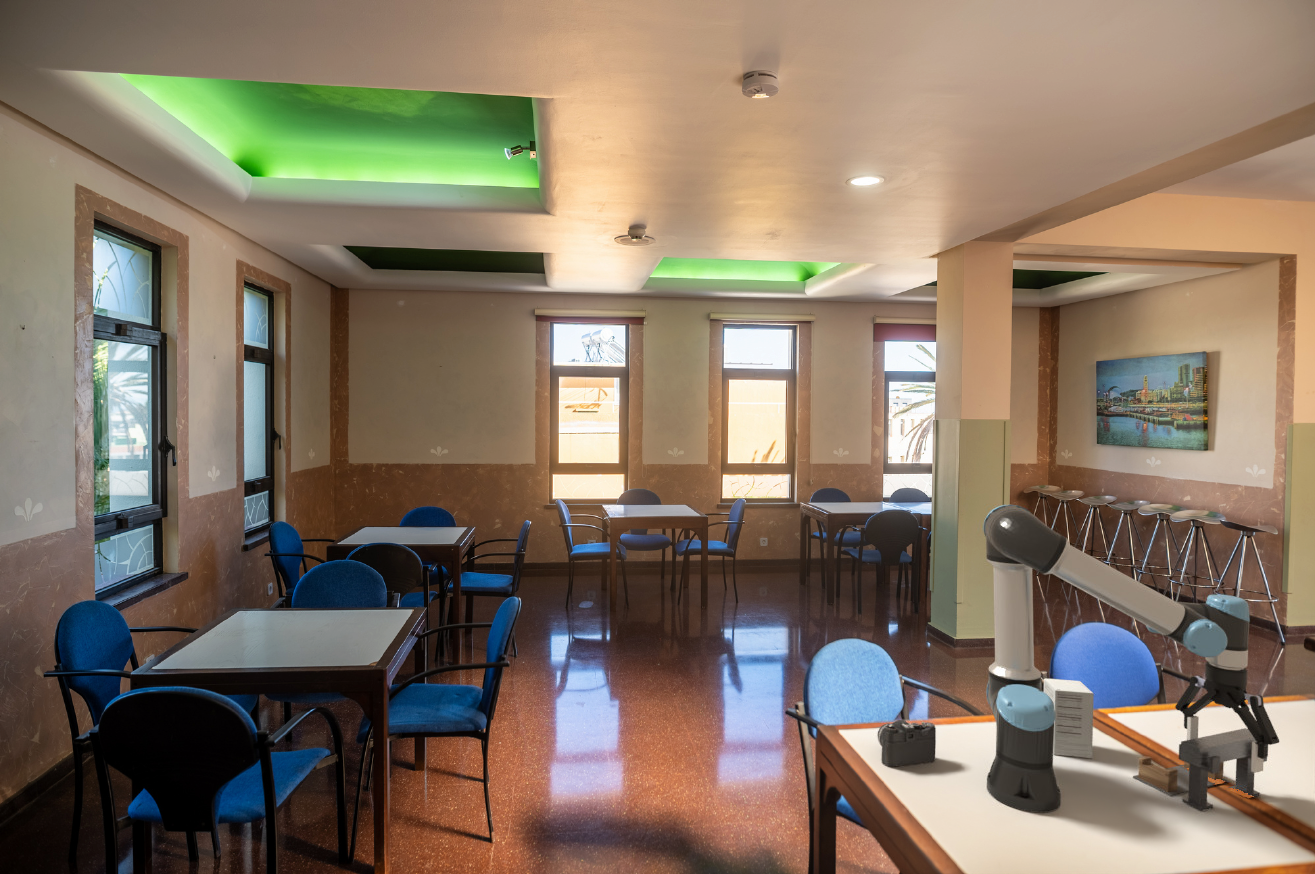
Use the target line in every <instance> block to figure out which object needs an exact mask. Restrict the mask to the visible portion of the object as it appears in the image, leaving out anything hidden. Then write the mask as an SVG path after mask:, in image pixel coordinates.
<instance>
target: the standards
mask: <svg viewBox="0 0 1315 874" xmlns="http://www.w3.org/2000/svg"><path fill="white" fill-rule="evenodd" d="M1178 760H1180V761H1183V762H1186V761H1184V760H1181V743H1179V744H1178ZM1235 760H1236V761H1235V764H1236V765H1235V784H1234V785H1231V786H1228V788H1233V789H1234V788H1235V789H1239V790H1241V791H1243V792H1244V793H1248V795H1252V796H1254V798H1257V797H1261V795H1260V794H1261V792H1260V791H1257V790H1255V789H1254V788H1255V773H1254V772H1252V771H1251V761H1252V755H1251V756H1247V757H1242V758H1238V759H1235ZM1267 761H1268V757H1267V758H1265V759H1263V763H1265V762H1267ZM1186 763H1188V762H1186ZM1189 764H1190V766H1189V792H1188V793H1187V794H1188V796H1187V797H1183V798H1181V802H1182V803H1183V804H1186V805H1187V806H1189V807H1191V808H1193V809H1195V810H1197V811H1199V812H1203V811H1207V810H1211V809H1214V804H1213V803H1211V802H1208V788H1207V785H1208V772H1209V773H1211V774H1215V773H1219V772H1220V757H1219V756H1217V755H1216V756H1211V757H1209V765H1207V766H1203V767H1197V766H1195V765H1193V764H1191V763H1189ZM1237 791H1238V790H1237Z"/></svg>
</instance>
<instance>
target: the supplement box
mask: <svg viewBox="0 0 1315 874" xmlns="http://www.w3.org/2000/svg"><path fill="white" fill-rule="evenodd" d="M1043 692H1044V693H1046V694H1047V695H1048V696H1049V697H1050V698H1051V699H1052V701H1053V703H1054V710H1055V721H1054V746H1053V756H1055V755H1056V756H1066V757H1067V756H1068V757H1073V758H1074V757H1075V758H1076V757H1077V758H1085V759H1086V758H1087V759H1092V758H1093V741H1094V740H1093V739H1094V737H1093V733H1094V732H1093V729H1094V697H1095V696H1094V695H1095V693H1094V692H1093V691H1091V690H1090V689H1089V688H1088V687H1087V686H1086V685H1085V684H1083V682H1081V680H1072V679H1071V680H1069V679H1058V678H1044V679H1043Z"/></svg>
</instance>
